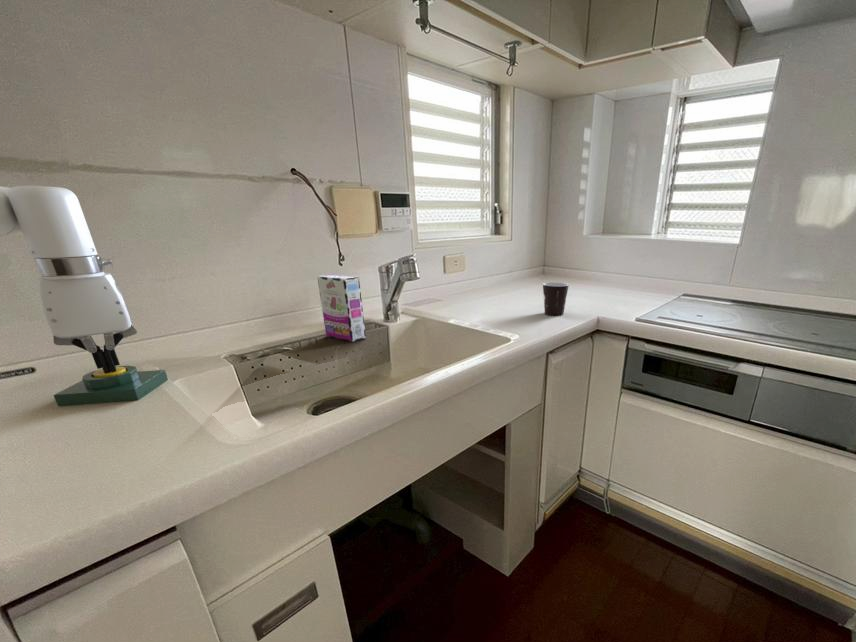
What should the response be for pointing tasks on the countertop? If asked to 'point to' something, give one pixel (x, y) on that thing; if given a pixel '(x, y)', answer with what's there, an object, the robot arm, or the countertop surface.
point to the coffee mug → (555, 298)
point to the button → (101, 373)
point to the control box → (111, 387)
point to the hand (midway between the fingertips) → (110, 370)
